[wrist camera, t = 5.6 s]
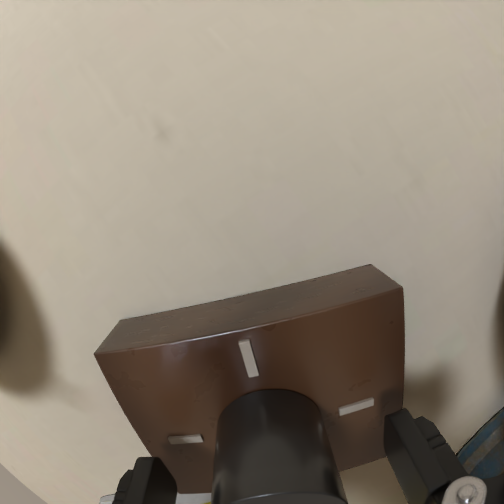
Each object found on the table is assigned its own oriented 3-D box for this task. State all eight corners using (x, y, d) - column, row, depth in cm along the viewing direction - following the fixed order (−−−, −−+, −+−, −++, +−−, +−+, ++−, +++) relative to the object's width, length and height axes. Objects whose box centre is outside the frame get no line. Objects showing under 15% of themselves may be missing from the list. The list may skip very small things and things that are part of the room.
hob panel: (371, 263, 12) (406, 288, 9) (379, 416, 14) (399, 454, 11) (119, 319, 13) (90, 355, 10) (185, 455, 15) (178, 496, 12)
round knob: (200, 403, 10) (183, 512, 6) (310, 375, 10) (344, 484, 5) (237, 465, 11) (237, 557, 6) (328, 443, 11) (355, 535, 6)
